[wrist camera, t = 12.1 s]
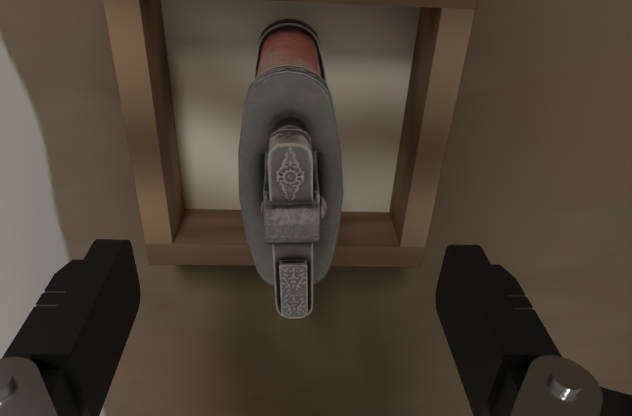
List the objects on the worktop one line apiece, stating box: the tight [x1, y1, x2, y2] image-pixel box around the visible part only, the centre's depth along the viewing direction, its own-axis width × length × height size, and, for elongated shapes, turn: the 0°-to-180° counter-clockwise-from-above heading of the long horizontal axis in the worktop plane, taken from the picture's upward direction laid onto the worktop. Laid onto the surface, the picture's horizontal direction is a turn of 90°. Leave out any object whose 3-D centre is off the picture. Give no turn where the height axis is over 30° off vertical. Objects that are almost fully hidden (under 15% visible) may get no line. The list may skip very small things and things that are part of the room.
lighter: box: [238, 19, 343, 319], centre depth 18 cm, size 8×3×10 cm, turn 0°
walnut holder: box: [103, 0, 477, 267], centre depth 21 cm, size 13×13×4 cm
